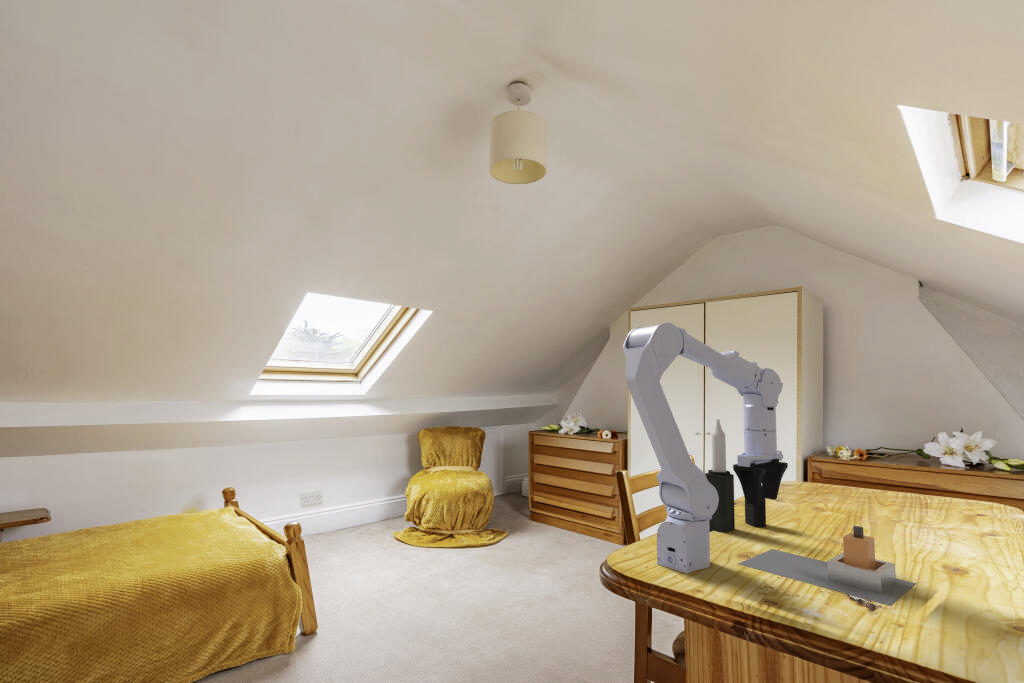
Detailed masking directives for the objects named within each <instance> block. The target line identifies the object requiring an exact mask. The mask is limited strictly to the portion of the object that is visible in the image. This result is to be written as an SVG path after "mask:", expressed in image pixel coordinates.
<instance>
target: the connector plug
mask: <svg viewBox="0 0 1024 683" xmlns="http://www.w3.org/2000/svg"><path fill="white" fill-rule="evenodd" d="M852 530H853V532H850V533H848V534H847V533H846V534H845V535H843V536H842V544H843V545H842V546H843V547H842V548H843V552H844V563H846V564H850V565H854V566H858V567H863V568H867V569H871V570H876V569H875V559H876V553H875V552H876V549H875V546H876V545H875V537H874V536H868V535H865V534H864V527H863V526H858V525H853V527H852Z"/></svg>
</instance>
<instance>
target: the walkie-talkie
mask: <svg viewBox="0 0 1024 683" xmlns="http://www.w3.org/2000/svg"><path fill="white" fill-rule="evenodd" d="M756 466H757V465H756ZM757 468H758V467H757ZM766 503H767V502H766V498H764V494H763V488H762V484H761V492H760V501H759V505H752V504H747V503H746V500H745V499H744V521H745V522H744V523H745V524H748V525H749V526H752V527H755V528H766V527H767V515H766V514H767V509H766V508H767V506H766V505H767V504H766Z"/></svg>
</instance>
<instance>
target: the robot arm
mask: <svg viewBox="0 0 1024 683" xmlns="http://www.w3.org/2000/svg"><path fill="white" fill-rule="evenodd" d="M621 349H622V351H623V353H624V355H625V356H624V357H625V381H626V385H627V387H628V390H629V393H630V395H631V397H632V400H633V403H634V404H635V407H636V410H637V413H638V415H639V417H640V420H641V422H642V425H643V427H644V431H646V434H647V438H648V439H649V441H650V445H651V447H652V449H653V451H654V454H655V456H656V459H657V461H658V463H659V466H660V470H659V472H658V473H656V479H657V483H658V487H659V488H658V495H659V499H660V501H661V502H662V504H663V505H664V506H665V512H666V513H667V514H666V518H665V520H664V521H663V522H661V523H660V524H659V526H658V527H657V531H656V563H657V565H659V566H661V567H665V568H667V569H672V570H675V571H677V572H681V573H684V574H689V573H692V572H694V571H698V570H702V569H708V568H709V567H710V566H711V553H710V552H711V550H710V549H711V546H710V545H711V542H710V538H711V537H710V533H711V532H709V519H712V515H713V514H714V513H715V511H716V510H717V507H718V503H719V497H718V493H717V490H716V489H715V487H714V486H713V485H712V484H710V483H709V481H708V480H707V478H706V475H705V473H706V472H704V471H703V470H702V469H701V468H699V467H698V466H697V465H696V463H695V462H693V461H692V458H691V457H690V454H689V452H688V448H687V447H686V445H685V441H684V440H683V439H684V438H683V437H682V433H681V431H680V429H679V426H678V424H677V421H676V420H675V417H674V414H673V412H672V409H671V406H670V405H669V404H670V403H669V402H668V399H667V397H666V395H665V392H664V390H663V387H662V384H661V382H660V381H661V379H662V376H663V374H664V373H665V372H666V370H667V369H668V368H669V367H670V366H671V365H672V364H673V362H674V361H675V360H676V358H677V357H678V356H681V357H683V358H685V359H687V360H690V361H692V362H695V363H697V364H699V365H701V366H703V367H705V368H708V369H710V370H711V374H712V376H713V378H715V379H717V380H719V381H721V382H723V383H725V384H727V385H729V386H731V387H733V388H735V389H736V391H737V392H738V394H739V395H740V396H742V400H743V441H744V442H743V444H744V445H743V446H744V449H743V450H744V451H743V452H742V453H740V454H737V457H736V458H737V463H735V464H732V469H733V471H734V473H735V475H736V477H737V478H738V480H739V483H740V485H741V490H742V492H743V496H744V501H745V500H746V503H747V504H752V505H759V501H760V492H761V485H762V488H763V494H764V498H765V499H767V500H775V501H776V500H778V499H777V498H778V495H779V491H780V487H781V483H782V479H783V477H784V475H785V472H786V470H787V469H788V467H789V465H788V462H786V461H785V462H783V459H784V454H783V451H782V450H778V447H777V445H778V444H777V443H778V441H777V410H776V409H777V408H776V407H777V406H778V404H779V396H780V394H782V390H783V388H784V386H783V385H784V382H782V380H781V377H780V375H779V374H778V373H777V372H776V371H775V370H773V369H772V368H768V367H767V368H764V367H760V366H759V365H758V363H757V362H755V361H749V360H747V359H745V358H743V357H741V356H740V352H738V351H736V350H730V351H729V350H725V351H722V352H719V351H717V350H715V349H714V348H713V347H711V346H709V345H707V344H705V343H704V342H702V341H701V340H699V339H698V338H696V337H694V336H692V335H691V334H689V333H688V332H687V330H686V329H685V328H682V327H679V326H677V325H676V324H673V323H671V322H663V323H659V324H656V325H650V326H645V327H643V326H642V327H635V328H632V329H631V330H629V332H628V334H627V336H626V338H625V339H624V342H623V344H622V348H621ZM756 465H757V466H756ZM757 467H758V468H757Z"/></svg>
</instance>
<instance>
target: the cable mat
mask: <svg viewBox="0 0 1024 683" xmlns="http://www.w3.org/2000/svg"><path fill="white" fill-rule="evenodd" d="M737 565H740V566H743V567H747V568H751V569H754V570H758V571H762V572H764V573H765V572H766V573H768V574H771V575H776V576H780V577H784V578H787V579H791V580H794V581H798V582H801V583H805V584H809V585H813V586H816V587H820V588H824V589H827V590H831V591H835V592H838V593H843V594H845V595H849V596H853V597H857V598H859V599H864V600H866V601H867V600H868V601H870V602H875V603H878V604H882V605H886V606H889V607H891V606H892V605H893V604H895V603H896V602H897V601H898V600H899V599H900V598H902V597H903V596H904V595H906V594H907V592H909V591H910V590H911V589H912V588H913V587H914V586H915V585H916V584H917V582H913V581H908V580H905V579H904V580H903V579H900V578H896V583H895V584H893V585H892V586H891V587H889V588H888V589H887V590H886V591H884V592H883V593H882V594H881V593H877V592H873V591H869V590H865V589H862V588H858V587H854V586H850V585H846V584H842V583H839V582H835V581H831V580H828V566H827V561H824V560H820V559H817V558H812V557H807V556H804V555H799V554H796V553H791V552H786V551H782V550H778V549H774V548H772V549H769V550H767V551H764V552H762V553H759V554H757V555H754V556H752V557H750V558H747V559H745V560H743V561H741V562H739V563H737Z"/></svg>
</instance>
